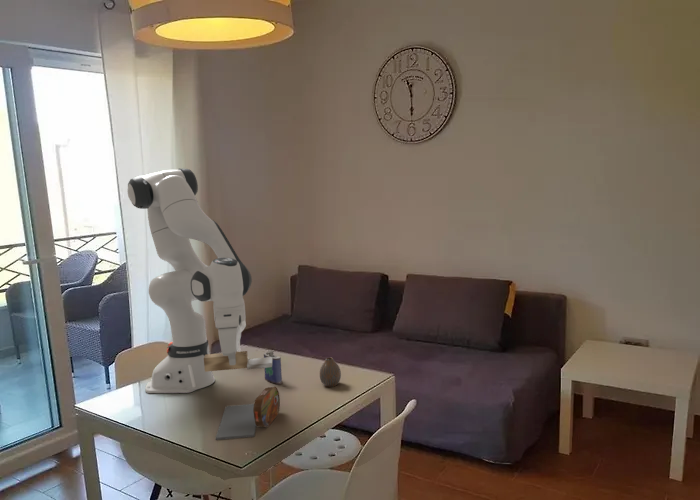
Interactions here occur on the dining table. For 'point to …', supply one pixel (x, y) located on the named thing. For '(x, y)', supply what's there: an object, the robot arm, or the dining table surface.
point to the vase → (330, 373)
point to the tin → (266, 407)
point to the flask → (273, 369)
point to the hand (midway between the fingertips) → (233, 361)
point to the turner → (222, 362)
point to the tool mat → (237, 422)
